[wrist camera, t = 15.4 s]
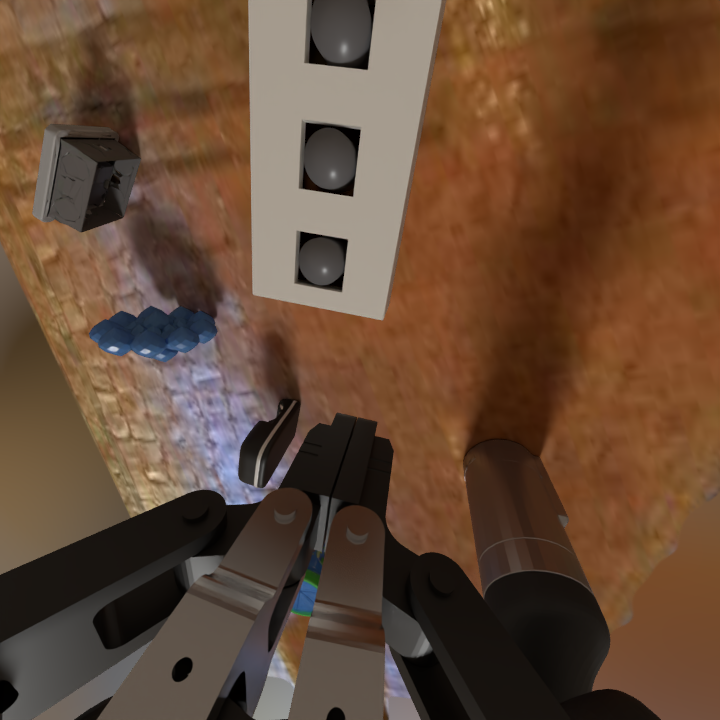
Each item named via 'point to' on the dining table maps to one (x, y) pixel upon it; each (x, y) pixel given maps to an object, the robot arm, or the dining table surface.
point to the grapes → (154, 332)
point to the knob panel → (342, 109)
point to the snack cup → (309, 585)
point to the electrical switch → (83, 176)
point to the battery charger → (268, 445)
